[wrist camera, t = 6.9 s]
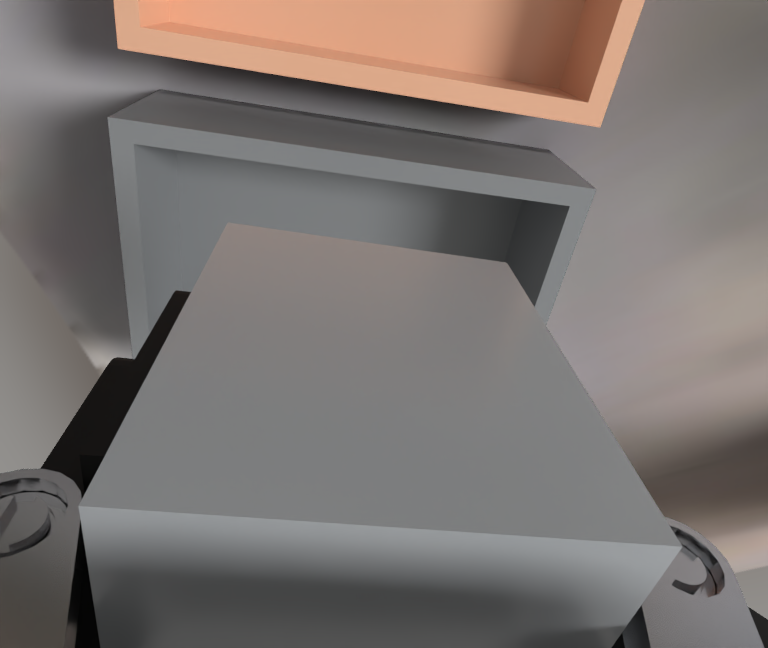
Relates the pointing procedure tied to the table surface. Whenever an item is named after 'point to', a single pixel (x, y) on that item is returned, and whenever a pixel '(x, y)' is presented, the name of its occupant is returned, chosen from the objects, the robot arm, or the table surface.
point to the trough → (408, 46)
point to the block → (365, 466)
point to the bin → (327, 193)
